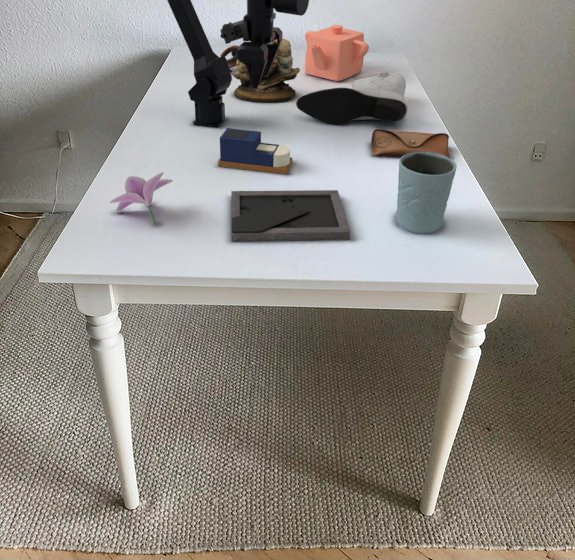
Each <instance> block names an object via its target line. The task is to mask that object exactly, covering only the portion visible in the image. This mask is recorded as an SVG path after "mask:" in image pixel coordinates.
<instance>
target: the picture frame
mask: <svg viewBox="0 0 575 560" xmlns="http://www.w3.org/2000/svg"><path fill="white" fill-rule="evenodd" d="M230 198H231V200H230V201H231V202H230V204H231V205H230V207H231V208H230V209H231V211H230V212H231V213H230V214H231V216H230V217H231V219H230V220H231V225H230V226H231V227H230V228H231V231H230V232H231V242H261V241H263V242H269V241H322V240H323V241H330V240H335V241H336V240H337V241H339V240H350V239H351V230H350V226H349V223H348V219H347V216H346V213H345V210H344V206H343V203H342V200H341V197H340V194H339V190H337V189H330V190H329V189H328V190H327V189H323V190H321V189H319V190H317V189H316V190H314V189H313V190H231V195H230Z"/></svg>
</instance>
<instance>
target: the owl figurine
mask: <svg viewBox="0 0 575 560" xmlns="http://www.w3.org/2000/svg"><path fill="white" fill-rule="evenodd" d="M247 42H251V41H247ZM275 42H277V40H275ZM280 43H281V45H280V47H279V49H278V52H277V54H276V56H275V59H274V61H273V63H272V66H271V68H270V71H269V73H268V76H263V75H262V77H261V80H260V83H259V86H258V88H257V89H254V88H252V84H251V81H250V77H249V74H248V70H247V68H246V66H245V65H244V64H243V63H242V62H239V60H238V59H237V66H236V69H237V72H234V73H233V78H235V79H236V80H239V81H240V84H239V85H238V86H237V88H235V89H234V91H233V92H234V93H233V95H234V96H235V98H237V99H239V100H243V101H248V102H256V103H278V102H279V103H280V102H286V101H289V100H291V99H293V98H295V96H296V93H297V92H296V90H295V89H294V88H293V87H292V86H290V84H289V83H286V82H288V81H292V80H295V79H296V78H297V75H298V74H299V73H300V72H301V69H300V68H299V67H295V68H294V67H293V61H294V58H293V54H292V45H291V42H290V40H288V39H286V38H282V41H281V42H280Z"/></svg>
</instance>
